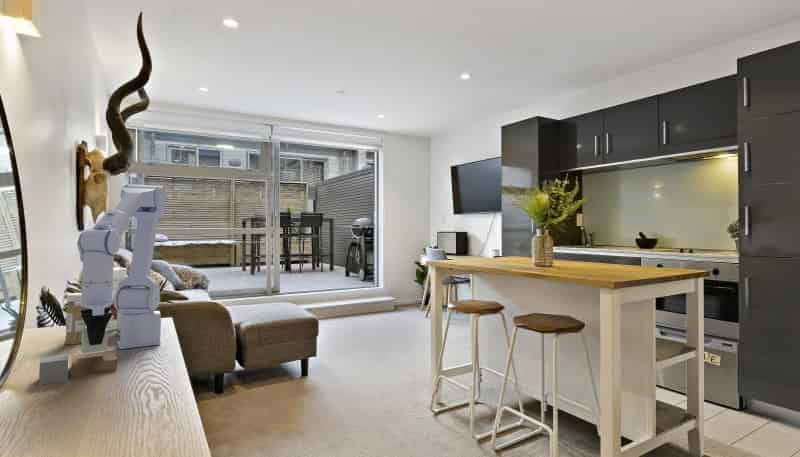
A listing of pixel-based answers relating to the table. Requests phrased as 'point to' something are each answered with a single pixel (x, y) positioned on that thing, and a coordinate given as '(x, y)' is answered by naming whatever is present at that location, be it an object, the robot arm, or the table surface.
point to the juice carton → (117, 277)
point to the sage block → (93, 348)
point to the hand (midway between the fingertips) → (95, 342)
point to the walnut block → (93, 363)
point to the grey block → (53, 369)
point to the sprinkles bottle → (74, 320)
